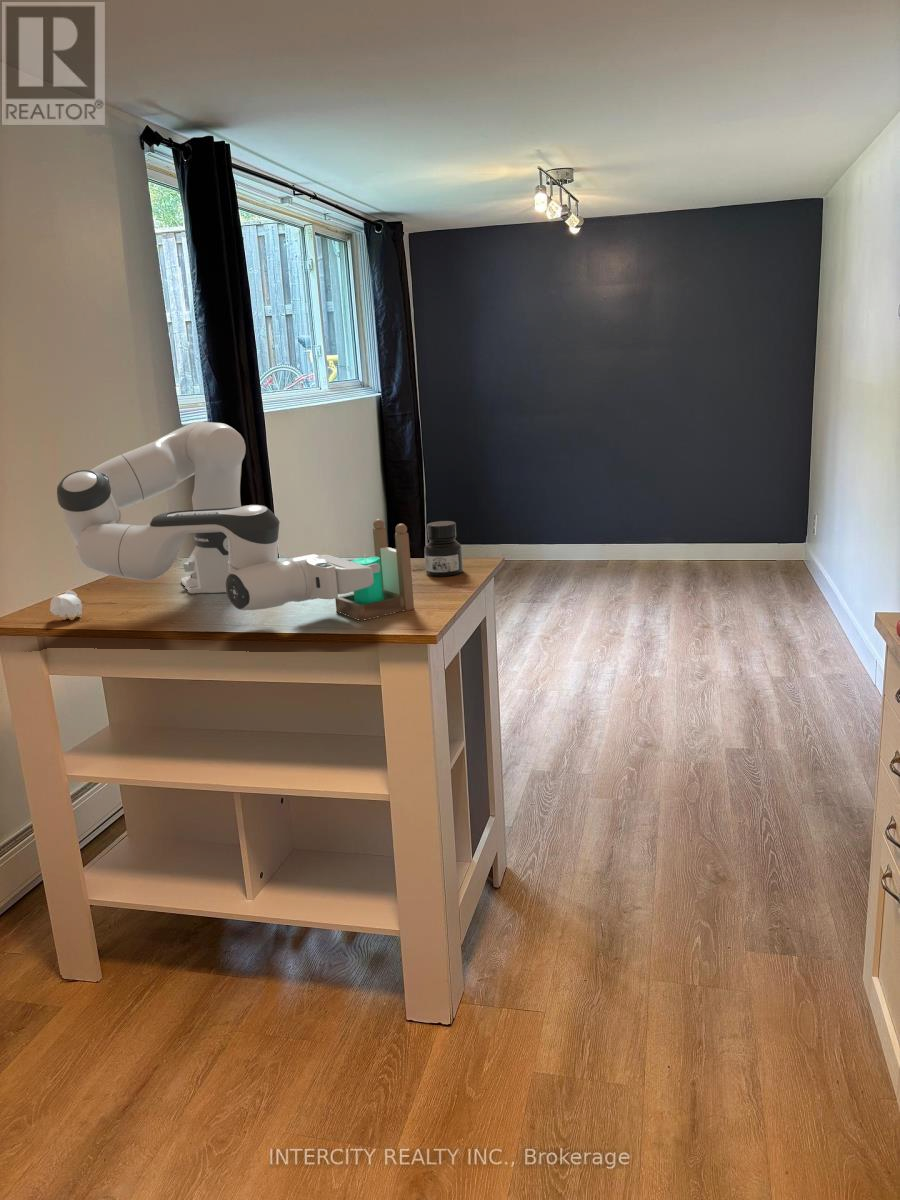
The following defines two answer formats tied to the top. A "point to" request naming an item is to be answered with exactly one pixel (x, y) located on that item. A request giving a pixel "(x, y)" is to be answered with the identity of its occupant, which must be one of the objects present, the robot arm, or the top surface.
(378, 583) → the candle
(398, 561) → the headboard
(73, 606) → the elephant figurine
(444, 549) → the ink bottle
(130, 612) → the top surface
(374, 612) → the shallow open wooden box
